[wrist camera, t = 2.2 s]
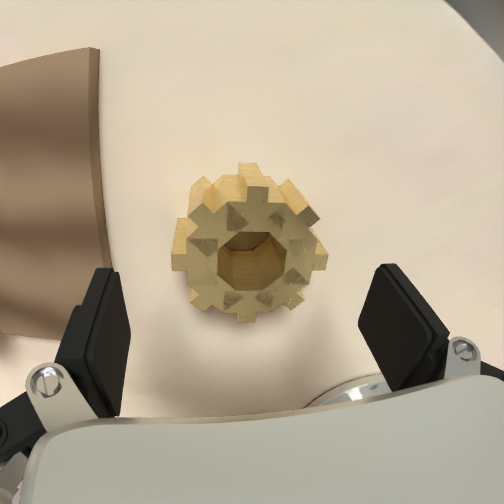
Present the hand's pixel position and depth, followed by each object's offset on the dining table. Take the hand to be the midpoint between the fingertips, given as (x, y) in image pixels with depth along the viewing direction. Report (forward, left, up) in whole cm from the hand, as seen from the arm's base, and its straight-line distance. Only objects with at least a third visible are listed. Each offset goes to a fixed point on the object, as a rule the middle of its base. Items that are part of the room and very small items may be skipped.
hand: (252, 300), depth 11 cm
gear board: (0, +19, -8) cm, 21 cm away
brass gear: (-1, -1, -8) cm, 8 cm away
